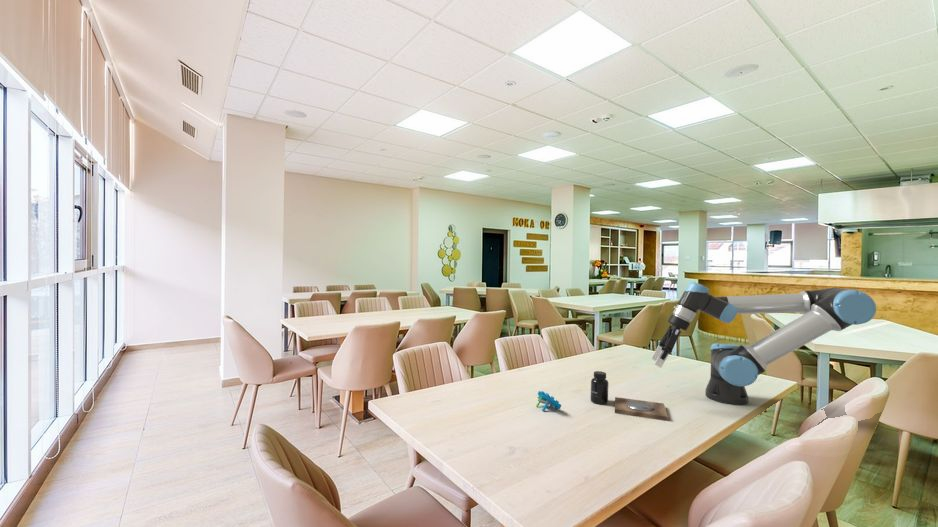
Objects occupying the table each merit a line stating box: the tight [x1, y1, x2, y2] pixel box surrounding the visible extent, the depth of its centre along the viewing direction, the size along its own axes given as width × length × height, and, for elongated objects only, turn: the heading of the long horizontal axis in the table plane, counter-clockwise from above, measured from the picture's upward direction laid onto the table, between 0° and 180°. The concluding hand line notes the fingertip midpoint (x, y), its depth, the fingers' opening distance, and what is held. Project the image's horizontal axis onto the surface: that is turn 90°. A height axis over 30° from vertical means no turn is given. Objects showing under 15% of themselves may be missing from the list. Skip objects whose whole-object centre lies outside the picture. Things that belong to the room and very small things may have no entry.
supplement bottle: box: [590, 370, 609, 406], centre depth 157 cm, size 7×7×12 cm
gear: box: [535, 390, 562, 412], centre depth 148 cm, size 11×6×10 cm
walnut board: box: [614, 396, 669, 422], centre depth 149 cm, size 18×14×2 cm
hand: (655, 363), depth 159 cm, fingers open, 13 cm apart
